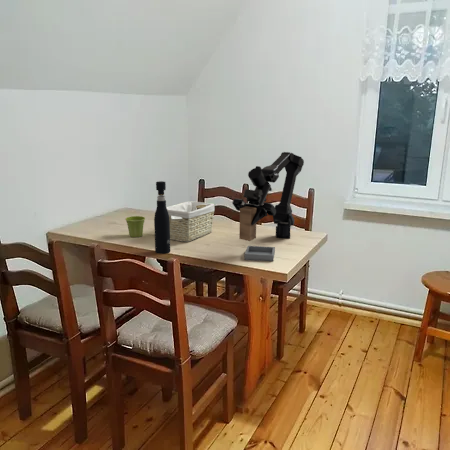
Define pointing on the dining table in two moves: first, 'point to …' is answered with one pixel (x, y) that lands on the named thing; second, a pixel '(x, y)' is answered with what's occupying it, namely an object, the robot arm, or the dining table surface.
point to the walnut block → (247, 223)
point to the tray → (260, 253)
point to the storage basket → (190, 220)
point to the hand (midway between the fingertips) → (246, 223)
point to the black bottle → (161, 222)
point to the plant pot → (135, 225)
